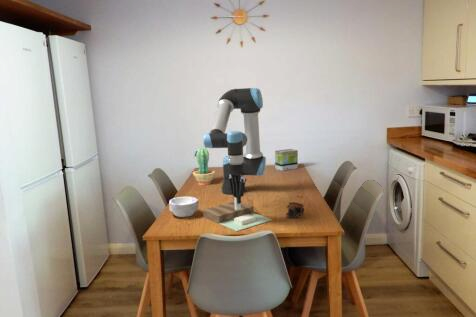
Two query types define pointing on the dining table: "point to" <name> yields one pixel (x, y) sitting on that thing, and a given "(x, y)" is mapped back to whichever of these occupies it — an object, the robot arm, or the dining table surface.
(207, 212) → the board
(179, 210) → the white round bowl
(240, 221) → the white flat block
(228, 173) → the robot arm
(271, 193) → the dining table surface
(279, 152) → the tea box
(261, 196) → the dining table surface
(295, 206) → the pottery mug
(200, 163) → the potted cactus
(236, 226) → the mat
